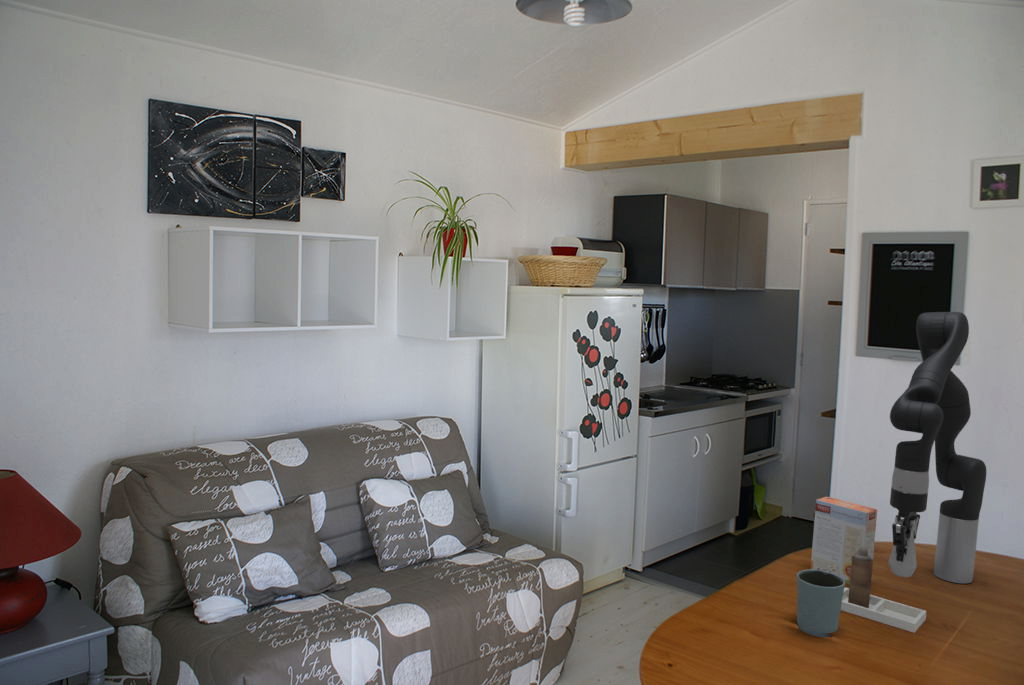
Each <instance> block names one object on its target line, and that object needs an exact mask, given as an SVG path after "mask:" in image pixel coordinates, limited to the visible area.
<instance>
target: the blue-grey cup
mask: <svg viewBox="0 0 1024 685" xmlns="http://www.w3.org/2000/svg"><path fill="white" fill-rule="evenodd" d="M845 586H846V584H845V581H844V579H843V578H841V577H840V576H838V575H836V574H834V573H831V572H827V571H823V570H815V569H811V568H810V569H809V568H808V569H803V570H800V571H798V572H797V573H796V588H797V594H796V595H797V596H796V607H797V608H796V612H797V613H796V623H797V624H796V626H797V627H798V629H799V630H800V629H801V630H800V631H802V632H803V633H806V634H808V635H809V636H810V635H811V636H814V637H819V638H831V637H833V635H831V634H832V633H835V632H837V631H838V628H839V624H840V622H839V619H840V615H841V611H842V610H841V603H842V597H843V592H844V588H846V587H845Z"/></svg>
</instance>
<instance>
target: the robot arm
mask: <svg viewBox="0 0 1024 685" xmlns="http://www.w3.org/2000/svg"><path fill="white" fill-rule="evenodd" d="M916 319H917V320H916V324H915V325H916V326H915V329H916V338H917V342H918V347H919V351H920V352H919V353H920V355H921V358H922V362H921V363H919V365H918V366H917V367H915V369H914V372H913V373H912V376H911V379H910V381H909V384H908V387H907V389H905V390H904V392H903V393H902V394H901V395H900V396H899V397H898V398H897V399H896V400H895V402H894V403H893V405H892V407H891V409H890V413H889V420H890V423H891V425H892V426H893V427H894V428H895V429H897V430H899V431H905V432H912V433H918V434H922V436H921V438H920V439H918V440H904V441H900V442H898V443H897V445H896V447H895V448H896V449H895V458H894V468H893V471H892V477H891V488H890V498H889V506H891V507H892V508H894V509H897V510H898V512H897V514H896V515H895V518H894V522H893V523H892V525H891V527H892V528H891V529H892V530H891V532H892V545H893V546H896V552H897V556H896V561H901V562H903V559H904V553H905V555H906V553H907V548H908V542H909V539H910V538H912V531H913V526H914V525H915V522H916V523H917V528H916V530H915V531H913V533H914V541H916V539H917V533H918V528H919V524H920V518H921V514H920V513H924V512H925V511H926V510H927V508H928V507H927V506H928V497H929V496H928V495H929V486H930V474H929V472H930V462H931V454H932V449H933V447H934V453H935V454H934V455H935V457H934V458H935V460H934V461H935V472H936V478H937V481H938V483H939V484H940V485H942V486H944V487H946V488H948V489H949V488H950V489H953V490H957V491H961V492H962V496H961V497H960V498H959V499H957V498H956V499H946V500H943V501H942V502H941V503H940V505H939V515H938V524H937V525H938V526H937V537H936V538H937V539H936V543H935V544H936V546H935V557H934V564H933V565H934V567H933V575H934V576H935V577H937V578H938V579H941V580H944V581H946V582H951V583H955V584H971V583H972V582H973V581H974V580H973V579H974V571H975V561H976V552H977V550H976V549H977V542H978V532H979V531H978V530H979V521H980V512H981V509H982V507H983V506H982V505H983V499H984V491H985V487H986V481H987V466H986V463H985V462H984V461H983V460H982V459H980V458H975V457H971V456H967V455H961V454H957V452H956V450H955V441H956V439H957V437H958V436H959V434H960V433H961V432H962V430H963V429H964V428H965V427H966V425H967V423H968V422H969V420H970V417H971V404H970V395H969V394H970V393H969V391H968V388H967V387H966V385H965V383H963V382H962V380H961V379H960V377H958V375H956V374H955V373H954V372H953V371H952V368H953V367H954V365H955V364H956V362H957V361H958V359H959V357H960V355H961V354H962V352H963V350H964V348H965V346H966V345H967V342H968V340H969V335H970V332H969V331H970V327H969V325H970V324H969V320H968V317H967V316H966V314H964V313H963V312H962V311H961V312H960V311H935V312H933V311H932V312H931V311H930V312H923V313H920V314H919V315H918V317H917V318H916ZM918 513H919V514H918ZM909 525H910V526H909ZM906 533H908V535H907V534H906ZM899 539H901V540H902V542H901V541H899ZM900 550H901V551H900ZM900 554H901V555H900ZM899 557H901V558H899Z"/></svg>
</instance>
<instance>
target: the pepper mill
mask: <svg viewBox="0 0 1024 685" xmlns="http://www.w3.org/2000/svg"><path fill="white" fill-rule="evenodd" d="M873 565H874V558H873V559H872V558H871V555H870V554H868V550H867V549H866V548H864V547H861V548H859V550H858V552H855V555H853V556H852V563H851V574H850V585H848V586H849V587H848V588H849V597H848V603H852V604H855V605H858V606H862V607H865V608H868V609H869V601H870V595H871V586H872V577H873V576H872V575H873Z"/></svg>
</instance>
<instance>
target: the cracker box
mask: <svg viewBox="0 0 1024 685" xmlns="http://www.w3.org/2000/svg"><path fill="white" fill-rule="evenodd" d="M814 509H815V511H814V521H813V534H812V544H811V545H812V546H811V561H810V569H815V570H823V571H827V572H831V573H834V574H836V575H838V576H840V577H841V578H843V579H844V581H845V585H848V586H850V574H851V563H852V556H853V555H855V552H858V550H859V548H861V547H864V548H866V549H867V550H868V554H870V555H871V558H872V559H873V560H874V553H875V552H874V551H875V539H876V530H877V529H876V528H877V519H878V518H877V516H878V509H876V508H874V507H869V506H866V505H862V504H858V503H853V502H850V501H846V500H842V499H838V498H835V497H834V498H833V497H830V496H823V497H821V498H817V499H815V508H814Z"/></svg>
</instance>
